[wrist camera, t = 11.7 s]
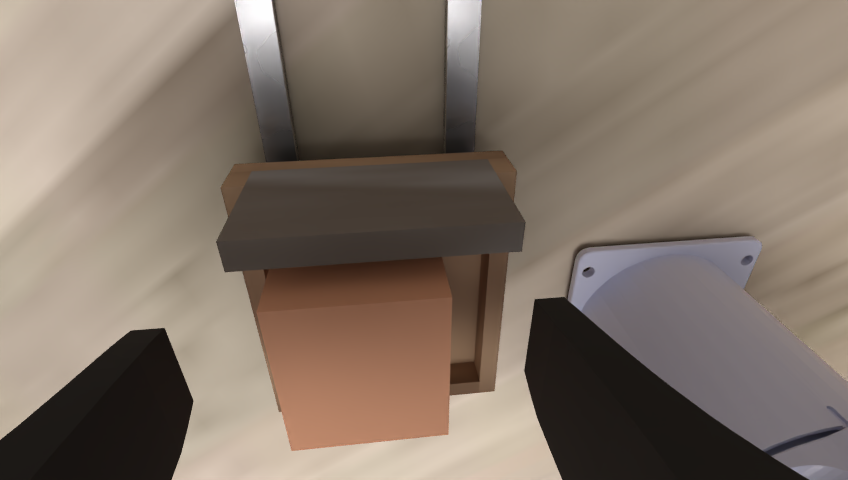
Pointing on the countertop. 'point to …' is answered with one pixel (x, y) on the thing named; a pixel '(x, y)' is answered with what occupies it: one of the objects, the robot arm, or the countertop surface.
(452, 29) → the rails
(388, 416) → the terracotta block
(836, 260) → the countertop surface
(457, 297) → the cart
